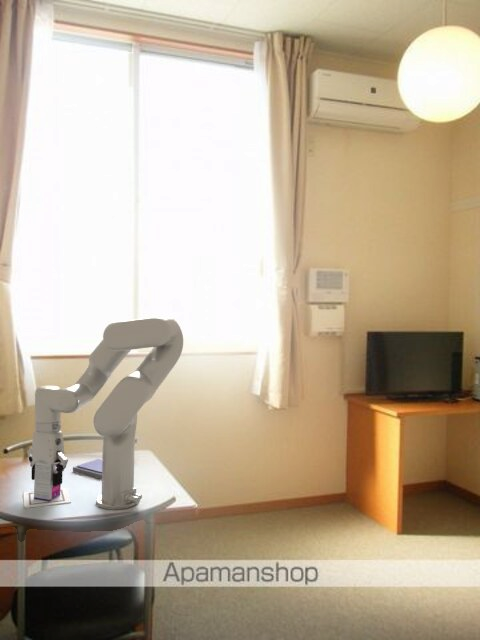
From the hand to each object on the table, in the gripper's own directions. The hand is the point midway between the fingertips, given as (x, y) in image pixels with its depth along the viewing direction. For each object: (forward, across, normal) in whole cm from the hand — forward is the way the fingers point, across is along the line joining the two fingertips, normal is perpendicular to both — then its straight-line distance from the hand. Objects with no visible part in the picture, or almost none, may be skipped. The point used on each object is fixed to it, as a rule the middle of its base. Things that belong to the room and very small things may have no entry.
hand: (46, 481), depth 166 cm
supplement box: (+5, 0, 0) cm, 5 cm away
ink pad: (+5, +6, -28) cm, 29 cm away
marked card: (+5, 0, 0) cm, 5 cm away
